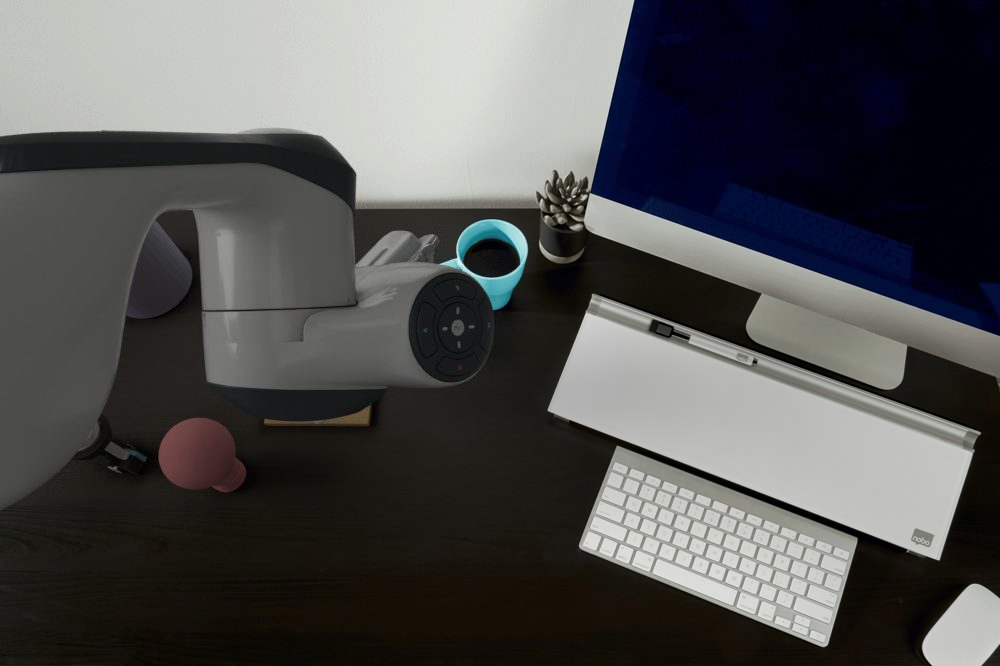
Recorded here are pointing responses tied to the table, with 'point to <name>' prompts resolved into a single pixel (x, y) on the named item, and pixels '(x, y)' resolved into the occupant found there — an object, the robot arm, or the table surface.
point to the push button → (110, 450)
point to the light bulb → (201, 456)
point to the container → (158, 276)
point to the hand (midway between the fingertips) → (312, 317)
